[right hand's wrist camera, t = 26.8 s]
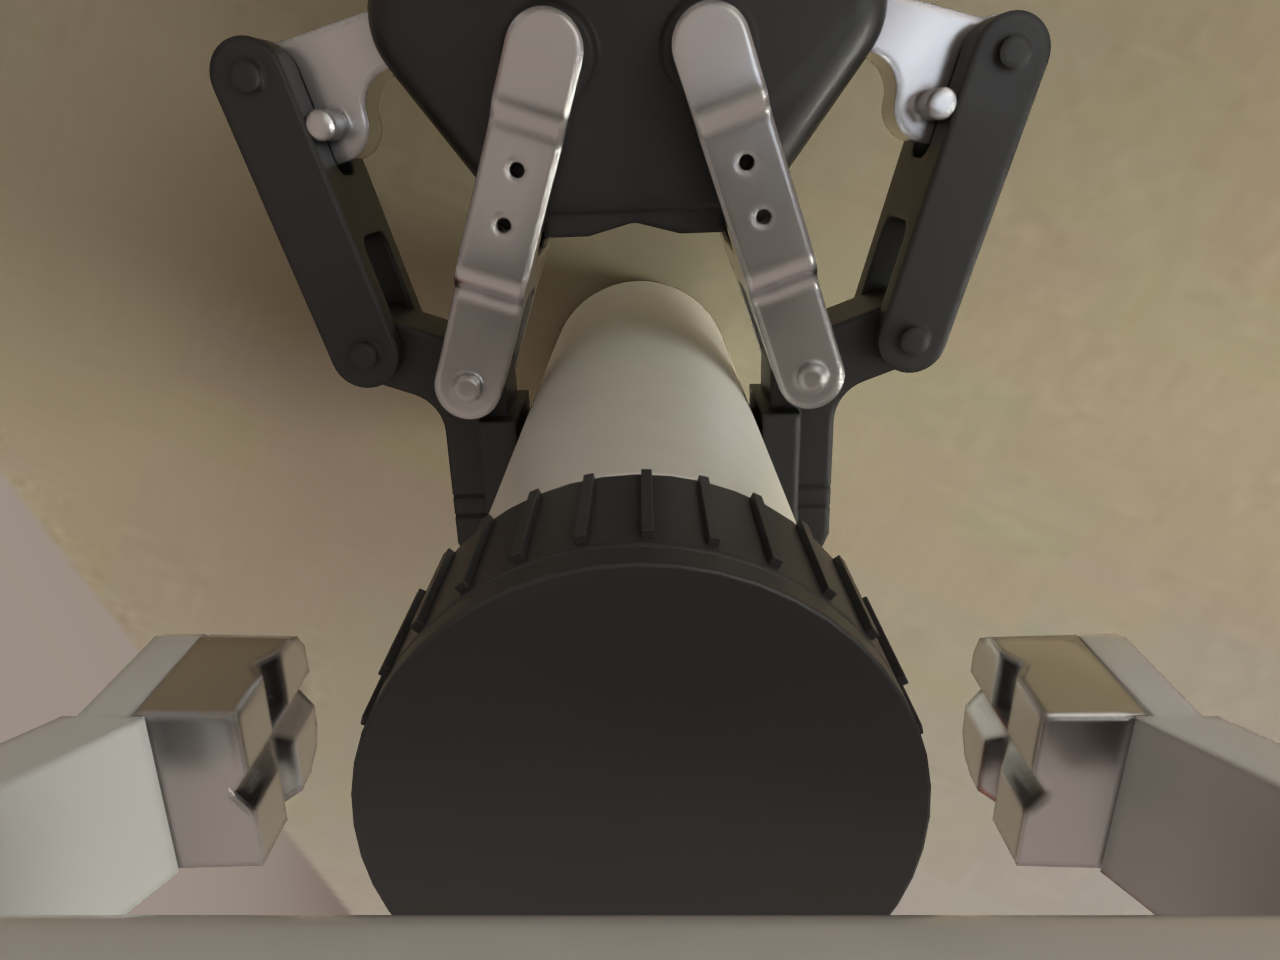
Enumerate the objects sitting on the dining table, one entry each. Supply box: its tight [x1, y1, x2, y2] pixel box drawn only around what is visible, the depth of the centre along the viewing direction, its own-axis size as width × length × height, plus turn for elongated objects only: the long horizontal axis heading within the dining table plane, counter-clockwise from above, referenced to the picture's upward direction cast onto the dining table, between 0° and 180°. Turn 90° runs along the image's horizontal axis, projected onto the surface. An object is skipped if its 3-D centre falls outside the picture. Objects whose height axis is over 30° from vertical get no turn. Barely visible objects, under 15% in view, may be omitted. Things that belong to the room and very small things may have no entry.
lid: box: [351, 469, 931, 915], centre depth 9 cm, size 5×5×2 cm
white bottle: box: [489, 281, 796, 524], centre depth 17 cm, size 5×5×16 cm
